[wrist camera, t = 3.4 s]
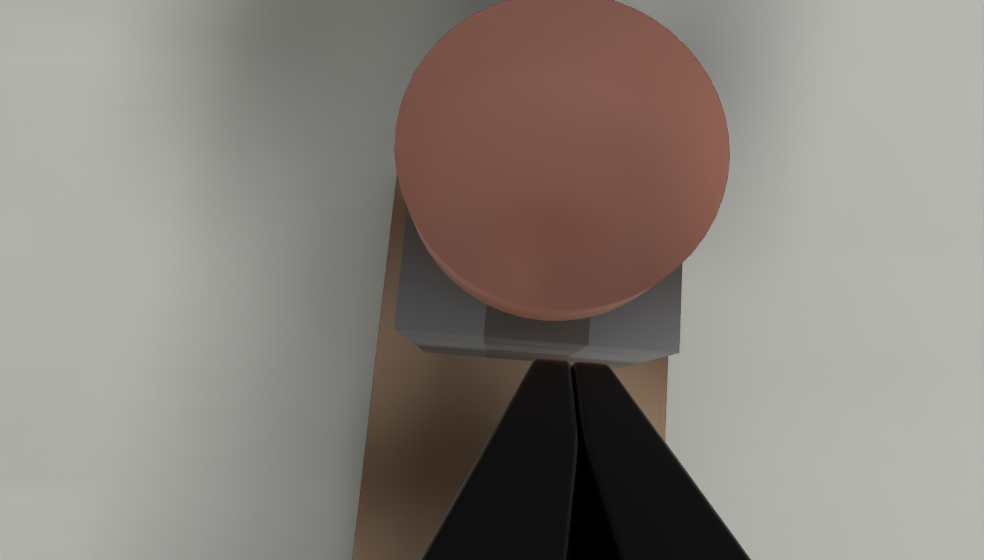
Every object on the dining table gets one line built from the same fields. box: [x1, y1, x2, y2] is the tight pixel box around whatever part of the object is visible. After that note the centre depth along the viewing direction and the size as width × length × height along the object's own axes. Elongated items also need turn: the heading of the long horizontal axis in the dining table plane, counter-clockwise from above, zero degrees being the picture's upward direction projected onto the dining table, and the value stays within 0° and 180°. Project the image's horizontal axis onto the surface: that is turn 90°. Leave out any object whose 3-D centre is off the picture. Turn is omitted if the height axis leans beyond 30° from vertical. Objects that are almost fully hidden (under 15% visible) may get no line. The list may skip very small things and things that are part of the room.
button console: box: [352, 175, 682, 560], centre depth 17 cm, size 21×9×8 cm, turn 175°
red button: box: [395, 0, 730, 321], centre depth 14 cm, size 6×6×5 cm
